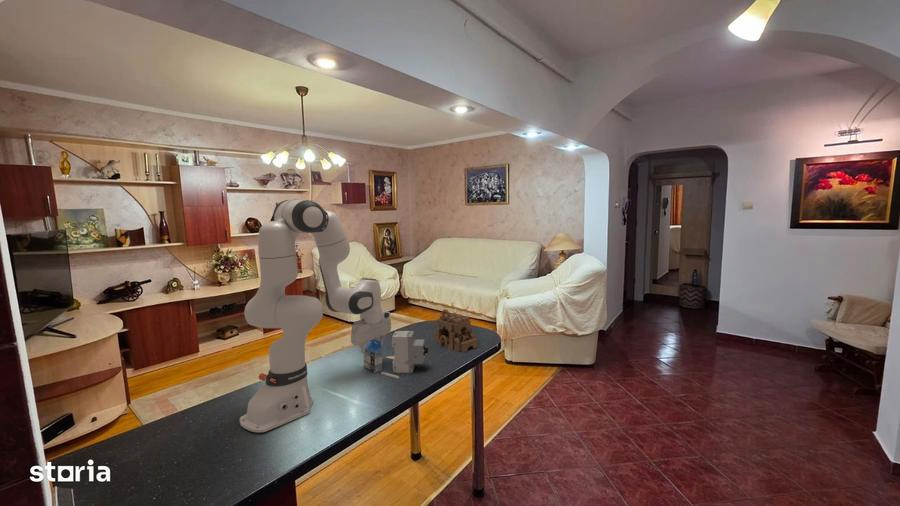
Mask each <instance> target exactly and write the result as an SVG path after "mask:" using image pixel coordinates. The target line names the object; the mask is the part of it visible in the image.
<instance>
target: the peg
mask: <svg viewBox="0 0 900 506" xmlns="http://www.w3.org/2000/svg"><path fill="white" fill-rule="evenodd" d="M380 372H381V373H380V374H381V375H382V376H385V377H389V378H392V379H396V380H400V376H399V375H395V374H394V373H393V374H392V373H388V372H385V371H380Z"/></svg>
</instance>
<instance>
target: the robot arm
mask: <svg viewBox="0 0 900 506" xmlns="http://www.w3.org/2000/svg"><path fill="white" fill-rule="evenodd" d="M299 233H306V234H311V236H313V238H314V242H315V245H316V247H317V250H318V254H319V257H318V263H319V264H318V265H319V271H320V273H321V279H322V282H323V286H324V290H325V304H326V307H327V308H328V310H330V311H331V312H334V313H344V314H347V315H348V314H350V315H359V320H356V321H354V323H353V324H352V325H351V332H350V333H351V334H350V343H351V344H352V345H354V346H358V347H359V348H360V351H361V352H360V353H362V354H364V353H366V352H367V348H365V347H366V345H365V343H367V342H371V340H372V339H376V338H377V339H378V341H380V342H381V346H383V345H384V341H385V337H386V336H385V335H387V334H389V333H390V332H391V330H392V320H391V312H389V311H387V310H382V309H383V308H382V305H381V302H382V301H381V300H382V290H381V289H382V288H381V284H380V281H379V280H378V279H376V278H367V277H365V278H364V277H362V278H360V279H359V282H358V283H357V284H356V285H355V286H354V287H352V288H346V287H344V286H343V285H342V284H341V281H340V277H339V275H340V274H339V272H338V265H339V264H341V263H342V262H344V261H345V260H346V259H347V258H348V256H349V255H350V252H351V250H350V249H351V247H350V242H349V239H348V236H347V233H346V231H345V228H344V226H343V224H342V221H341V220H340V218H339V217H338V215H337V214H336V213H335V212H334V211H330V210H324V208H323V207H322V206H321V205H320V204H319V203H318V202H315V201H313V200H309V199H301V198H299V199H298V198H293V199H285V200H283V201H280V202H279V203H278V204H277V205H276V206H275V207H274V209H273V213H272V215H271V218H270V221H269V222H266V223H264V224H262V225H261V226H260V228H259V230H258V239H257V241H258V242H257V249H258V250H257V251H258V252H257V253H258V259H259V271H260V283H259V286H258V289H257V291H256V294H255V295H254V296H253V297H252V298H251V299H249V301H248V302H247V303H246V305H245V306H244V318H245V321H246V323H247V324H248V325H250V326H252V327H256V328H262V329H282V336H281V337H280V338H278V339H276V340H274V341H273V342H272V343H271V345H270V346H269V349H268V358H269V370H268V371H267V374H266V373H263V372H262V373H259V375H258V377H257V378H258V380H261V381H265V383H264V384H263V385H262V386H261V387H260V388H259V389H258V390H257V392H256V393H255V394H254V395H253V396H252V397H251V398H250V399H249V400H248V402H247V410H246V413H245V414H244V415H242V416H240V417H239V425H240V427H242V428H243V429H245V430H247V431H249V432H253V433H265V432H268V431H270V430H272V429H275V428H278V427H280V426H282V425H284V424H287V423H289V422H291V421H294V420H297V419H299V418H301V417H303V416H307V415H308V414H310V412H311V407H312V405H313V403H314V401H313V399H312V396H311V392H310V389H309V384H308V365H307V363H306V341H307V337H308V335H309V333H310V332H311V330H313V328H315V327H316V326H317V325H319V323H320V322H321V320H322V319H323V315H324V308H323V304H322V302H321V301H320V299H319V298H318V297H314V296H308V295H304V294H303V295H292V294H291V295H286V292H285V291H286V290H285V289H286V287H287V286H289V285H290V284H291V285H292V284H293V282H295V281H296V280H297V278H298V276H299V268H298V267H299V266H298V259H297V249H296V244H295V243H296V238H297V236H298V234H299Z"/></svg>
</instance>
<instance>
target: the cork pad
mask: <svg viewBox="0 0 900 506" xmlns="http://www.w3.org/2000/svg"><path fill="white" fill-rule="evenodd" d="M385 358H387V359H390V360H392V361H393V360H394V355H392V356H391V355H389V356H385Z"/></svg>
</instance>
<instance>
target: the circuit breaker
mask: <svg viewBox="0 0 900 506" xmlns="http://www.w3.org/2000/svg"><path fill="white" fill-rule="evenodd" d="M425 341H426V340H425V339H423V338H422V339H415V330H397V331H394V333H393V334H392V336H391V348H393V349H394V353H393V356H394V360H393V359H392V373H393V374H394V373H396V374H398V373H399V374H400V373H401V374H402V373H403V374H404V373H405V374H406V373H407V374H409V373H414V369H415V366H416V364H418V365H419V364H424V362H425V358H426V354H428V352H429V347H426V345H425V344H426V343H425Z"/></svg>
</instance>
